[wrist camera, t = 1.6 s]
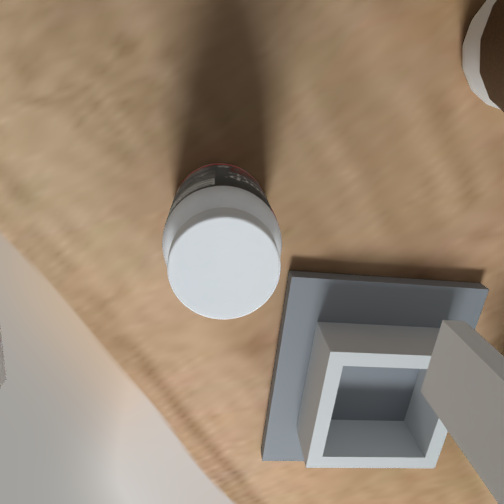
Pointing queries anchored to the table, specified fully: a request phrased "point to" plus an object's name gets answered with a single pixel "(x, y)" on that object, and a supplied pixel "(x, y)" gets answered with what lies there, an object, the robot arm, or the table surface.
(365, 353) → the socket
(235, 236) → the pill bottle
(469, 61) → the coffee cup
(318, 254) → the table surface
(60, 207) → the table surface
